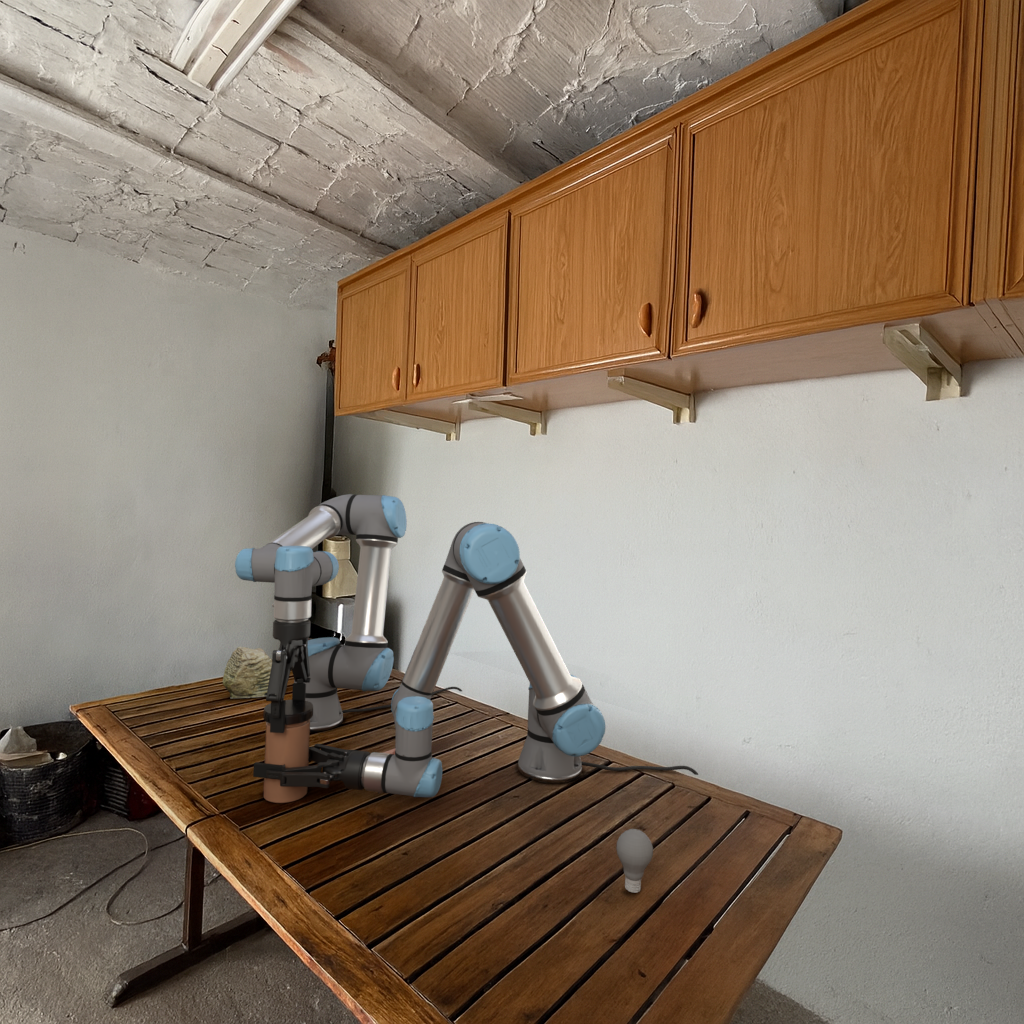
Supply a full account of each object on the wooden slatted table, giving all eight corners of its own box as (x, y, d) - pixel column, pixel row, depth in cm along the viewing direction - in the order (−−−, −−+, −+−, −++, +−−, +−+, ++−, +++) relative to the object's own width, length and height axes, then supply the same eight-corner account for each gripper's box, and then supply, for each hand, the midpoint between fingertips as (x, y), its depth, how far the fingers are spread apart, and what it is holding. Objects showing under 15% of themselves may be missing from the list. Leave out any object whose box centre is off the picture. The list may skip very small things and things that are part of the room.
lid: (258, 713, 136) (259, 703, 136) (306, 706, 141) (306, 697, 141) (269, 728, 128) (269, 717, 128) (318, 720, 133) (319, 710, 133)
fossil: (218, 695, 195) (220, 647, 195) (278, 685, 208) (279, 640, 207) (228, 703, 189) (230, 653, 188) (289, 692, 201) (290, 645, 201)
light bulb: (610, 879, 108) (613, 822, 108) (644, 879, 109) (647, 822, 109) (619, 902, 102) (622, 840, 102) (655, 901, 103) (658, 840, 103)
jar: (304, 781, 141) (307, 704, 140) (310, 798, 133) (313, 717, 132) (261, 787, 137) (264, 708, 137) (265, 806, 129) (268, 721, 129)
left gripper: (295, 608, 146) (291, 703, 146) (250, 629, 122) (246, 742, 123) (327, 610, 146) (323, 705, 146) (288, 631, 122) (284, 744, 123)
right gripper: (345, 814, 121) (237, 801, 125) (384, 767, 143) (290, 757, 146) (347, 775, 121) (238, 763, 125) (385, 734, 143) (292, 725, 146)
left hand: (288, 722), depth 134 cm, fingers open, 11 cm apart
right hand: (266, 760), depth 135 cm, fingers closed on jar, 9 cm apart
